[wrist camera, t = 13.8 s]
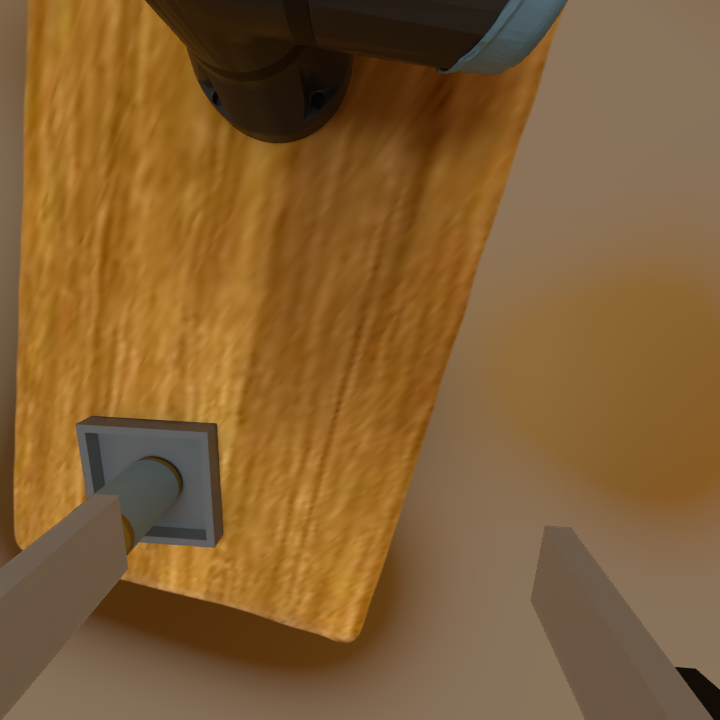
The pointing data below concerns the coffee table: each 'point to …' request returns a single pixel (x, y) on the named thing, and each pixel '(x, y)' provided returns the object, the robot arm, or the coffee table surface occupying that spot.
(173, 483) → the bottle
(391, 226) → the coffee table surface
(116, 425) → the tray
